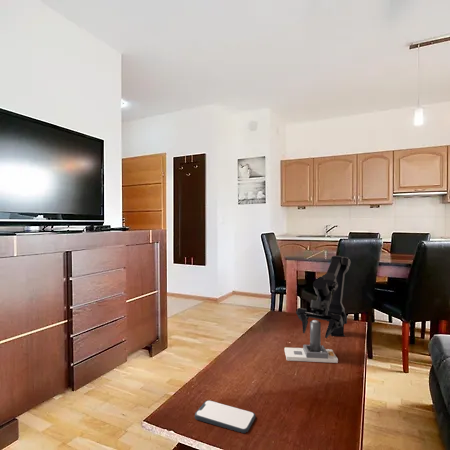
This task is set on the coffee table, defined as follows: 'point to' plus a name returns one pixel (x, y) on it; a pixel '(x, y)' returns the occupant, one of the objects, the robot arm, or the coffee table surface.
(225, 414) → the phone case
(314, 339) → the joystick
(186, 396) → the coffee table surface
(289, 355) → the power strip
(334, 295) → the robot arm
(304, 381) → the coffee table surface
